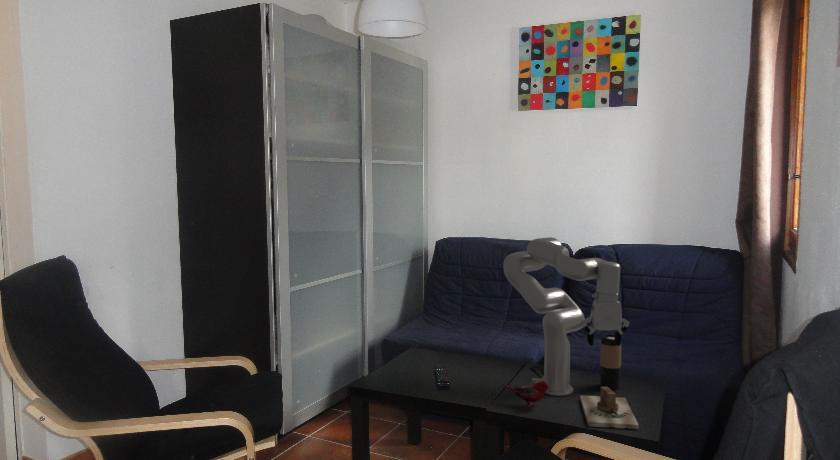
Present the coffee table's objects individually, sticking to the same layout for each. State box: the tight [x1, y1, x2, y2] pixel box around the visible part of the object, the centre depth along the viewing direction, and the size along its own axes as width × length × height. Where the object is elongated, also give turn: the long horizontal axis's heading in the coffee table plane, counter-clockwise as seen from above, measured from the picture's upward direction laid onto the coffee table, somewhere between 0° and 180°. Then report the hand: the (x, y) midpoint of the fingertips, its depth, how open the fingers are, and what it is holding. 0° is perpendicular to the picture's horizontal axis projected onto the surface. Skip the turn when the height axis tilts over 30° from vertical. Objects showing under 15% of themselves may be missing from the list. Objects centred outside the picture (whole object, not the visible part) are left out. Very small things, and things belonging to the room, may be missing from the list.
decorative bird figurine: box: [502, 381, 550, 408], centre depth 214 cm, size 3×18×10 cm, turn 62°
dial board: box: [579, 394, 640, 430], centre depth 207 cm, size 16×24×2 cm, turn 171°
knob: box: [597, 386, 618, 415], centre depth 205 cm, size 10×7×6 cm, turn 7°
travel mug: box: [599, 334, 622, 391], centre depth 232 cm, size 8×8×20 cm
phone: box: [530, 364, 544, 378], centre depth 249 cm, size 8×1×15 cm
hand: (603, 344), depth 210 cm, fingers open, 9 cm apart
